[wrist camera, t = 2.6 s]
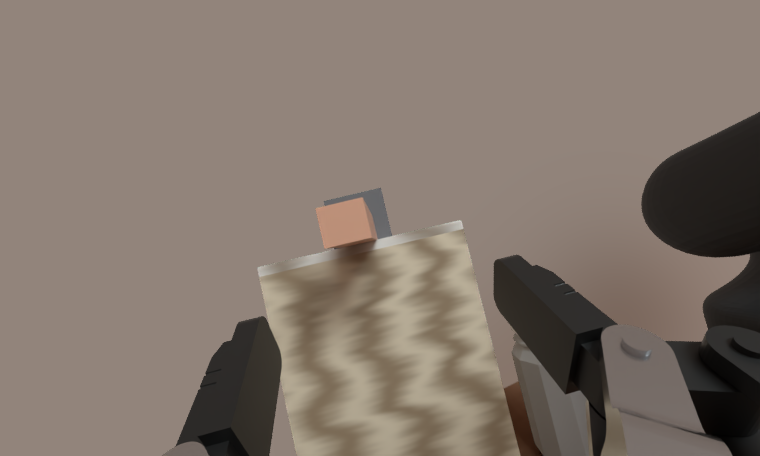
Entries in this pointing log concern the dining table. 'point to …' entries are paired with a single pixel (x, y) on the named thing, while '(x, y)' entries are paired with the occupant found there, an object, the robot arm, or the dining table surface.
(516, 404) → the dining table surface
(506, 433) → the beige zigzag box
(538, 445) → the jar
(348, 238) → the salmon and grey blocks
